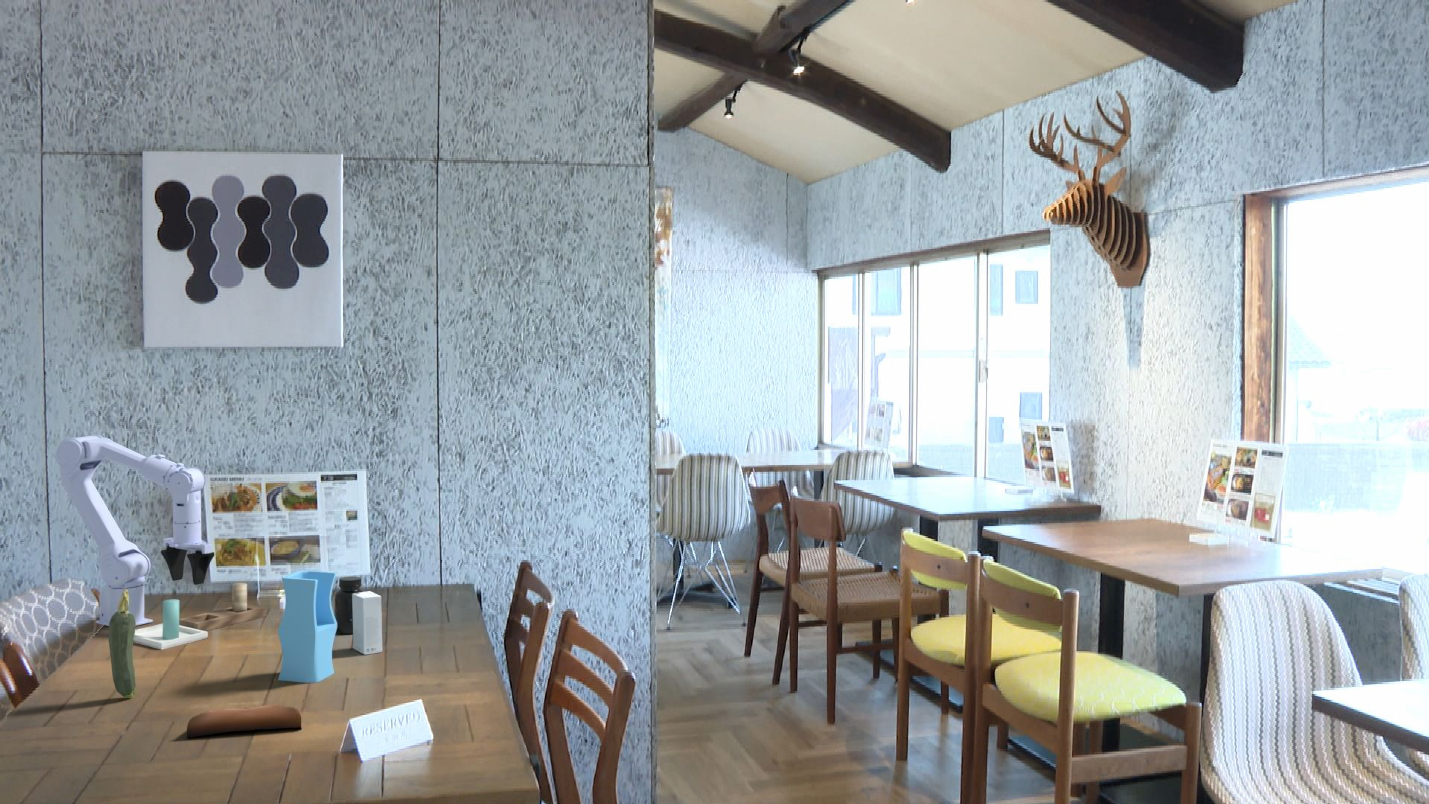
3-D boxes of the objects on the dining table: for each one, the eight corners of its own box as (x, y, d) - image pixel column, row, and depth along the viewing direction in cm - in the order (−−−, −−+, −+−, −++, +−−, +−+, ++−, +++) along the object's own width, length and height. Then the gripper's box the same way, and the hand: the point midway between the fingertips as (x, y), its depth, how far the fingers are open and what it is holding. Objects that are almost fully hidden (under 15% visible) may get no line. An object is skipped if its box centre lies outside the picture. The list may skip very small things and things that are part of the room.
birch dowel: (229, 618, 264) (229, 584, 263) (240, 615, 267) (240, 582, 266) (238, 620, 262) (238, 586, 262) (249, 617, 265) (250, 583, 265)
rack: (197, 632, 251) (197, 623, 251) (177, 628, 255) (177, 619, 254) (265, 616, 267) (265, 607, 267) (246, 612, 270) (246, 603, 270)
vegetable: (124, 704, 203) (123, 593, 202) (103, 702, 204) (102, 592, 203) (141, 696, 208) (140, 588, 206) (120, 694, 208) (120, 586, 207)
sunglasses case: (303, 713, 200) (302, 687, 197) (302, 745, 195) (301, 719, 191) (191, 722, 195) (189, 696, 191) (187, 755, 189) (184, 729, 186)
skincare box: (383, 652, 240) (383, 595, 239) (362, 655, 237) (363, 598, 236) (371, 645, 245) (372, 590, 244) (351, 649, 242) (351, 592, 241)
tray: (120, 639, 244) (120, 633, 244) (167, 628, 254) (167, 622, 254) (161, 649, 238) (161, 643, 237) (207, 638, 247) (207, 631, 247)
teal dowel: (159, 638, 244) (159, 601, 244) (172, 635, 247) (172, 598, 247) (169, 640, 243) (169, 603, 242) (182, 637, 246) (182, 600, 245)
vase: (315, 683, 218) (315, 580, 216) (278, 680, 219) (278, 577, 218) (336, 672, 225) (337, 572, 224) (300, 668, 227) (301, 569, 226)
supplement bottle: (359, 635, 252) (359, 582, 252) (329, 634, 253) (329, 581, 252) (369, 627, 259) (369, 575, 259) (339, 626, 259) (340, 574, 259)
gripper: (150, 521, 255) (151, 581, 256) (192, 527, 248) (192, 589, 248) (178, 517, 261) (179, 575, 262) (220, 523, 254) (220, 583, 254)
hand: (188, 581), depth 255 cm, fingers open, 7 cm apart
